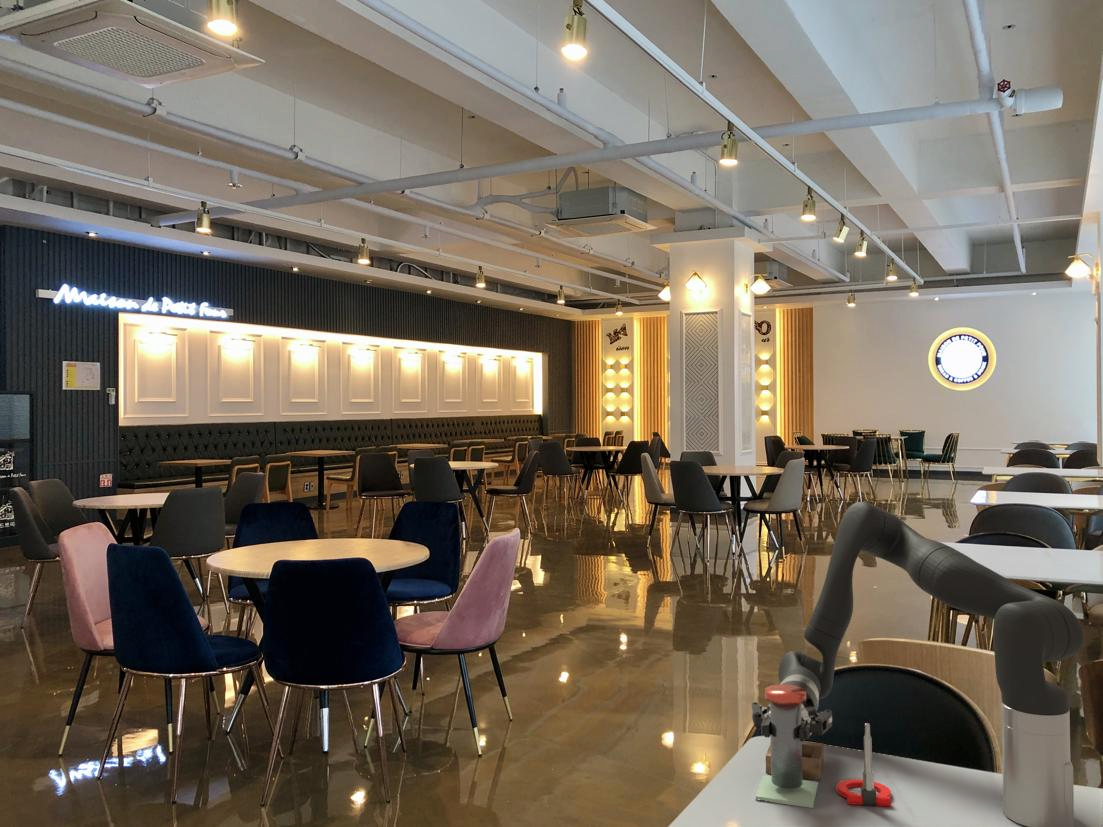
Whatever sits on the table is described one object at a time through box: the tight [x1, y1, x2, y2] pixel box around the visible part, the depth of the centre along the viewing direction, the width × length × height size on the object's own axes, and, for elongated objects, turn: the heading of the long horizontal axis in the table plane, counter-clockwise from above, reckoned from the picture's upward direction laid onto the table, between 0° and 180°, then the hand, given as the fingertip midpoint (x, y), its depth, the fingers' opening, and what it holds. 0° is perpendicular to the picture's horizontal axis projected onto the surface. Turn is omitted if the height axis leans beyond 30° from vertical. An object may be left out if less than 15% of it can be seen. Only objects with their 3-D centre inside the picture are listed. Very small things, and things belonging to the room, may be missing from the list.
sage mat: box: [755, 774, 819, 809], centre depth 148 cm, size 9×9×1 cm
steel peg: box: [764, 683, 806, 788], centre depth 148 cm, size 7×7×15 cm
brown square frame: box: [765, 741, 825, 781], centre depth 159 cm, size 9×9×3 cm
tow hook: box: [836, 722, 892, 807], centre depth 147 cm, size 8×13×9 cm
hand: (784, 733), depth 146 cm, fingers closed on steel peg, 5 cm apart
